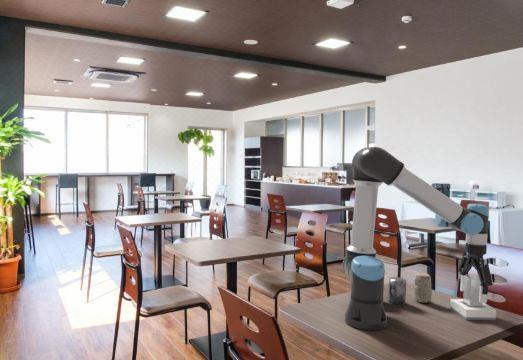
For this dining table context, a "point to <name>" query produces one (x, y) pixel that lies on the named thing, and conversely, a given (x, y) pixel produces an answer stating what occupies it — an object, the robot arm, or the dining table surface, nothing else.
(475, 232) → the robot arm
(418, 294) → the carving
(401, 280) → the round bit
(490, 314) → the bore block
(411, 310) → the dining table surface
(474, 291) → the square peg
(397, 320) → the dining table surface
